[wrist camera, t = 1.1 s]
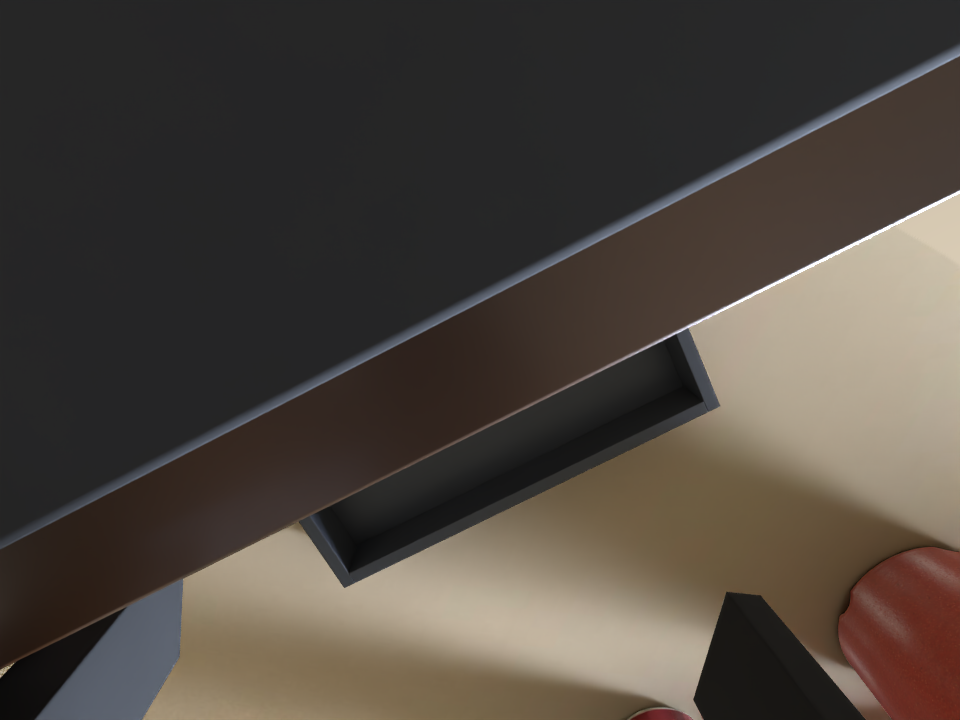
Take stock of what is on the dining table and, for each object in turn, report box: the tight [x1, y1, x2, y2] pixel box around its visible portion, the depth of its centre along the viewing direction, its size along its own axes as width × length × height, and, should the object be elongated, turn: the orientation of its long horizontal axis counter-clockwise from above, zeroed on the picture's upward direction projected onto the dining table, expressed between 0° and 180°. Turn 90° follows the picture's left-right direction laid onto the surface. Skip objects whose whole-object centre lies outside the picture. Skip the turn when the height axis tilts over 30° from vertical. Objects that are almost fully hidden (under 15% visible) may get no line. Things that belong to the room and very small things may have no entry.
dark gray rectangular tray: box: [299, 328, 720, 588], centre depth 35 cm, size 26×10×4 cm, turn 117°
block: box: [0, 56, 960, 669], centre depth 19 cm, size 14×8×28 cm, turn 117°
